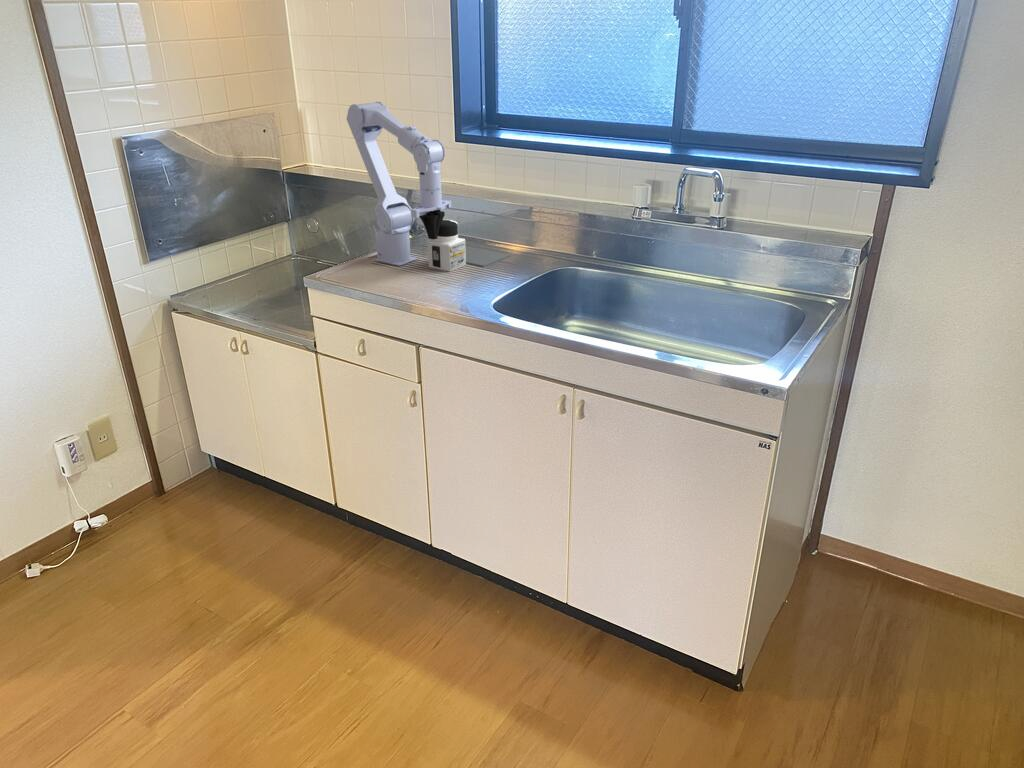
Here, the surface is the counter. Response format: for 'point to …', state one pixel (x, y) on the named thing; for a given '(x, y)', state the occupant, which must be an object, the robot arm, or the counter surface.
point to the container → (447, 248)
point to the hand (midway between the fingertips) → (432, 238)
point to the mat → (482, 256)
